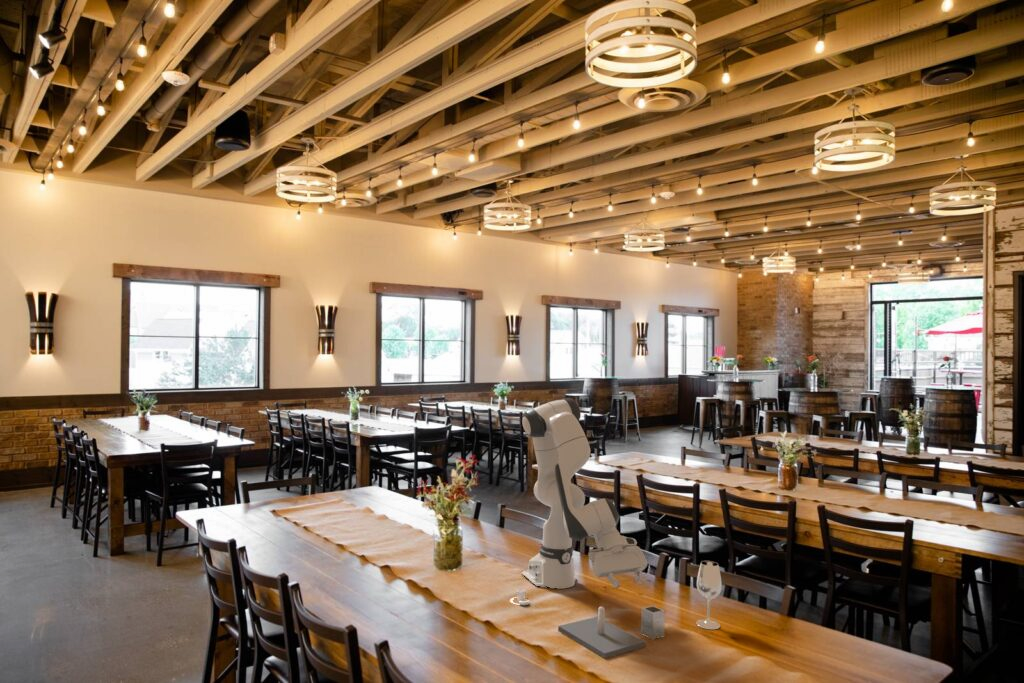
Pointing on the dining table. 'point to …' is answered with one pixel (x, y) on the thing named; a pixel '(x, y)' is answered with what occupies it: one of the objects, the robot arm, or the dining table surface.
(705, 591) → the wineglass
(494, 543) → the dining table surface
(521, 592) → the teacup and saucer
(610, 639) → the shaft plate
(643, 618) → the steel sleeve
